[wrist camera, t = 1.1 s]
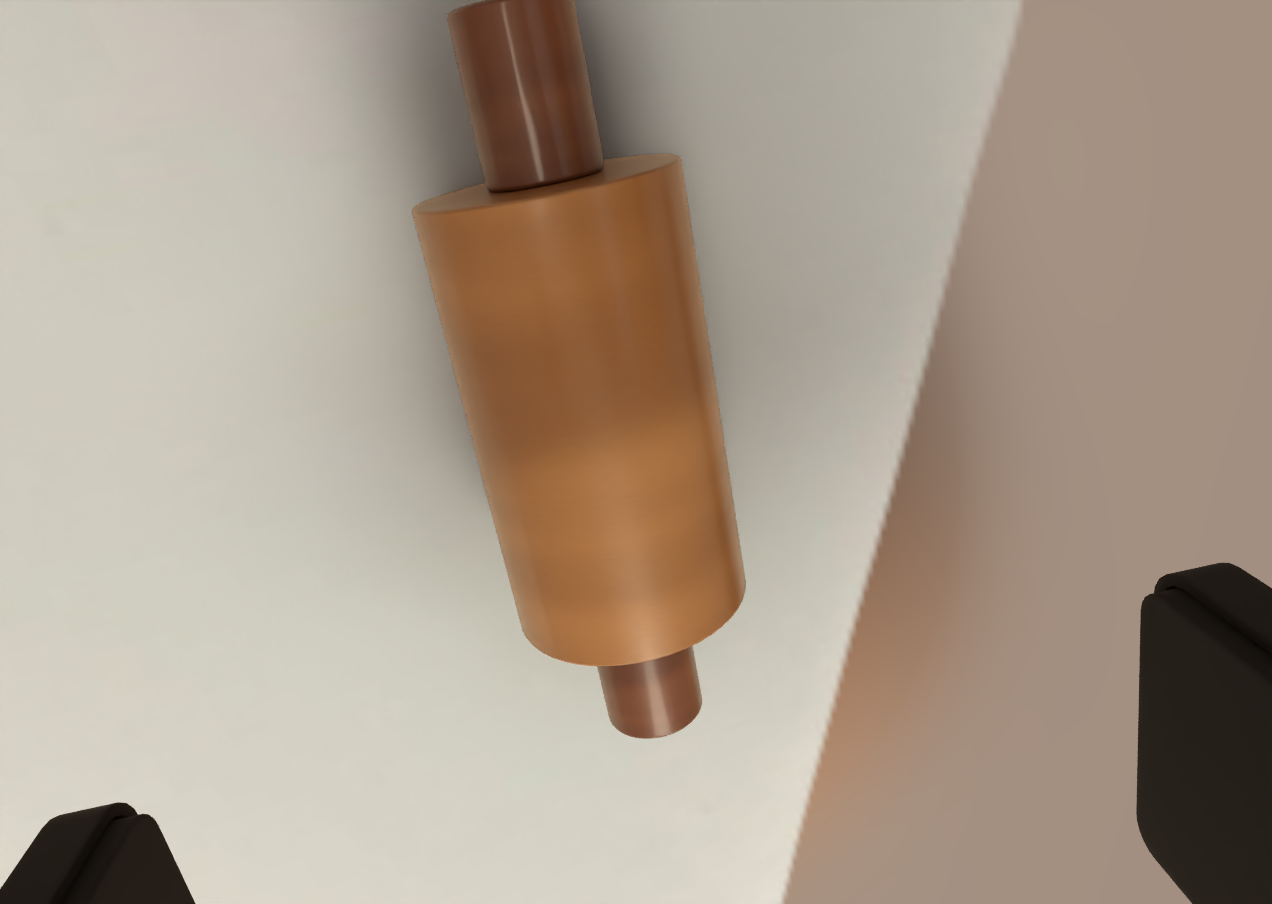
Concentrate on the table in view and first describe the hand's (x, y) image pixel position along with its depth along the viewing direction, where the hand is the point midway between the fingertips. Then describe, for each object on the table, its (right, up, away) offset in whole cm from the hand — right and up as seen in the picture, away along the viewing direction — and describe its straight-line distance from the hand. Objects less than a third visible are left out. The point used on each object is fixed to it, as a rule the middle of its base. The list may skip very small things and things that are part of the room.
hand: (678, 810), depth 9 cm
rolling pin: (-1, +4, +10) cm, 11 cm away
